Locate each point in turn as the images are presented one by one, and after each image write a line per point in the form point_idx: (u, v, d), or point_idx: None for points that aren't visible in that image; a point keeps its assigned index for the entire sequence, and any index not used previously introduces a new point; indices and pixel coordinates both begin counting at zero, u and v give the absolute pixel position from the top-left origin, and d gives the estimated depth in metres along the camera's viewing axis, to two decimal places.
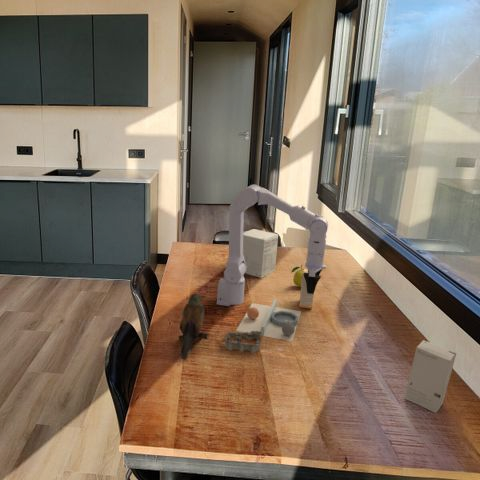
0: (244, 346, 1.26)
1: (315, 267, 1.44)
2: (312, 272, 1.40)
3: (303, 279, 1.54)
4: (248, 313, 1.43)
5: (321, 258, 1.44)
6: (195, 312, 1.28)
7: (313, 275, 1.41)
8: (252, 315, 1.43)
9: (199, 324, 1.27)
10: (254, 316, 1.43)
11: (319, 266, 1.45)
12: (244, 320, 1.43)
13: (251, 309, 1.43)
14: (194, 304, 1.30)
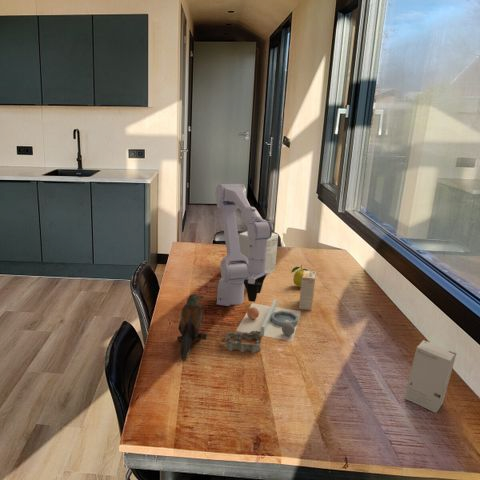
0: (244, 346, 1.26)
1: (256, 273, 1.38)
2: (251, 279, 1.34)
3: (302, 284, 1.53)
4: (248, 313, 1.43)
5: (262, 264, 1.37)
6: (194, 312, 1.28)
7: (252, 282, 1.34)
8: (252, 315, 1.43)
9: (198, 325, 1.26)
10: (254, 316, 1.43)
11: (260, 272, 1.38)
12: (244, 320, 1.43)
13: (251, 309, 1.43)
14: (192, 304, 1.30)
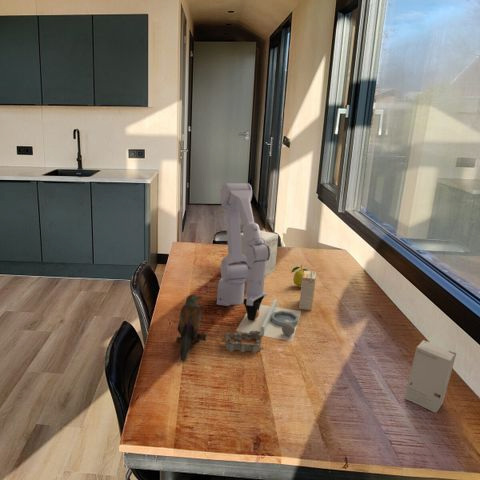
0: (245, 346, 1.26)
1: (254, 295, 1.40)
2: (249, 301, 1.36)
3: (303, 284, 1.53)
4: None
5: (260, 285, 1.39)
6: (193, 313, 1.27)
7: (250, 304, 1.36)
8: None
9: (197, 325, 1.26)
10: None
11: (258, 294, 1.40)
12: (244, 320, 1.43)
13: None
14: (191, 305, 1.29)
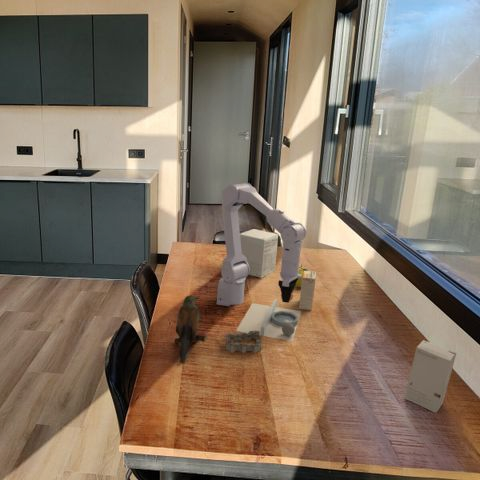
0: (246, 347, 1.26)
1: (289, 276, 1.38)
2: (286, 282, 1.34)
3: (303, 284, 1.53)
4: None
5: (296, 267, 1.37)
6: (191, 314, 1.26)
7: (287, 285, 1.34)
8: None
9: (195, 326, 1.25)
10: None
11: (294, 275, 1.38)
12: (244, 320, 1.43)
13: None
14: (189, 306, 1.29)
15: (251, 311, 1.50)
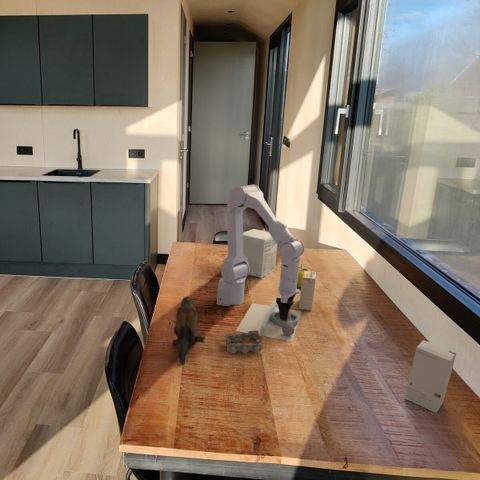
0: (247, 347, 1.26)
1: (288, 292, 1.39)
2: (284, 298, 1.35)
3: (303, 284, 1.53)
4: None
5: (294, 283, 1.39)
6: (190, 315, 1.26)
7: (285, 301, 1.35)
8: None
9: (194, 327, 1.24)
10: (287, 317, 1.43)
11: (292, 291, 1.39)
12: (244, 320, 1.43)
13: None
14: (187, 307, 1.28)
15: (251, 311, 1.50)
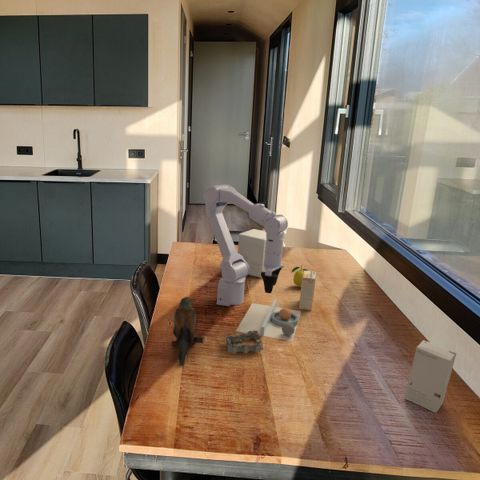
0: (248, 347, 1.26)
1: (272, 266, 1.43)
2: (268, 271, 1.39)
3: (303, 284, 1.53)
4: (280, 314, 1.43)
5: (278, 257, 1.43)
6: (188, 316, 1.25)
7: (269, 274, 1.39)
8: (285, 315, 1.42)
9: (193, 328, 1.24)
10: (287, 317, 1.42)
11: (277, 265, 1.43)
12: (244, 320, 1.43)
13: (284, 310, 1.43)
14: (186, 308, 1.27)
15: (251, 311, 1.50)
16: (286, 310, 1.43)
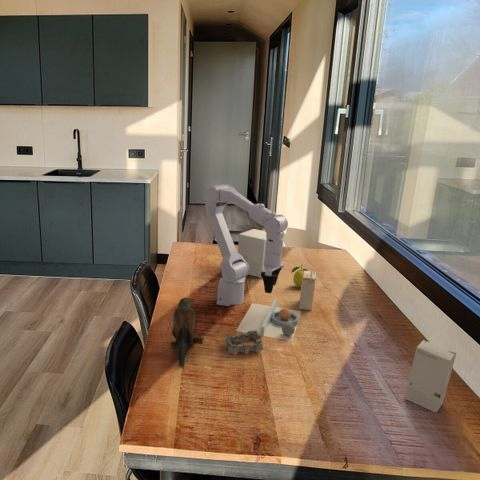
0: (249, 348, 1.25)
1: (272, 266, 1.43)
2: (268, 271, 1.39)
3: (303, 284, 1.53)
4: (281, 314, 1.43)
5: (278, 257, 1.43)
6: (187, 316, 1.25)
7: (269, 274, 1.39)
8: (285, 316, 1.42)
9: (192, 329, 1.23)
10: (287, 317, 1.42)
11: (277, 265, 1.43)
12: (244, 320, 1.43)
13: (284, 310, 1.43)
14: (185, 308, 1.27)
15: (251, 311, 1.50)
16: (286, 310, 1.43)
